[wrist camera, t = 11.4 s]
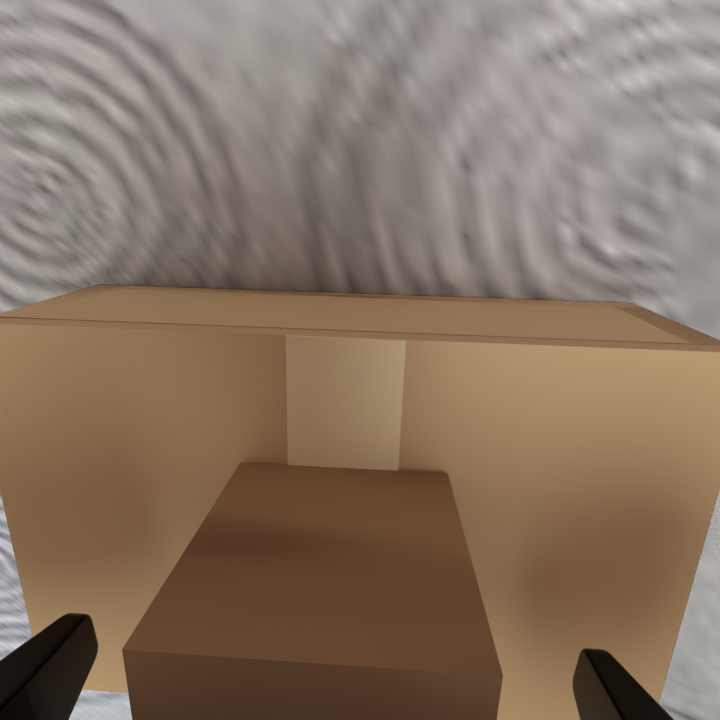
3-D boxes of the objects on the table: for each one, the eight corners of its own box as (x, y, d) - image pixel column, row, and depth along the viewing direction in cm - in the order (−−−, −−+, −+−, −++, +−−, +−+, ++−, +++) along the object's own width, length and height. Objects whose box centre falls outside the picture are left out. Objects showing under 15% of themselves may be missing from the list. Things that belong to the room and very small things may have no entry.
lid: (636, 707, 12) (652, 736, 11) (59, 665, 12) (40, 690, 12) (733, 346, 9) (762, 354, 8) (-12, 317, 10) (-41, 323, 9)
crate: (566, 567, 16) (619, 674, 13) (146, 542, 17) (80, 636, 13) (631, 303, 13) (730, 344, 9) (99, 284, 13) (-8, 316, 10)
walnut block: (432, 638, 11) (466, 916, 6) (248, 626, 11) (158, 887, 6) (447, 473, 9) (503, 675, 5) (240, 462, 10) (121, 649, 5)
